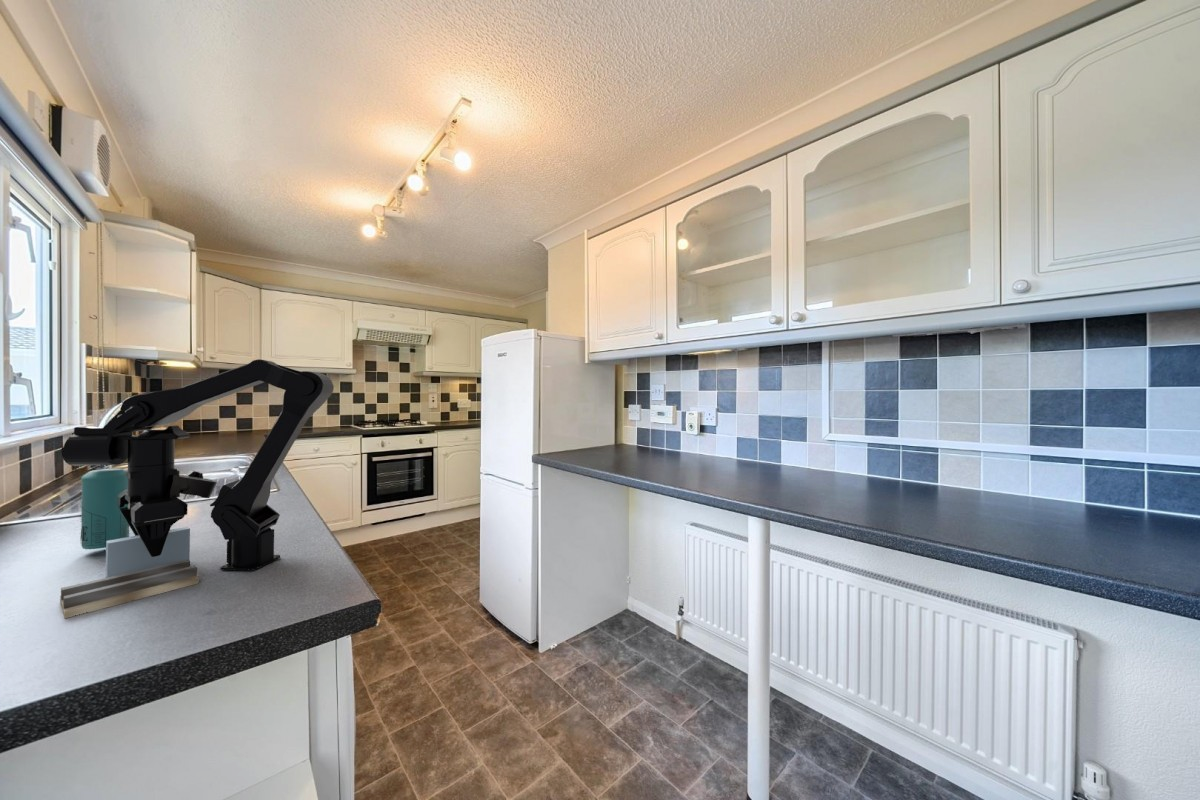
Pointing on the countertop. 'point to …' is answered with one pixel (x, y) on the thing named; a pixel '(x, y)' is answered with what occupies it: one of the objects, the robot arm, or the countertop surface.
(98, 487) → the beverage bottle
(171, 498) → the robot arm
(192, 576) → the door track
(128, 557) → the door panel
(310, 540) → the countertop surface
